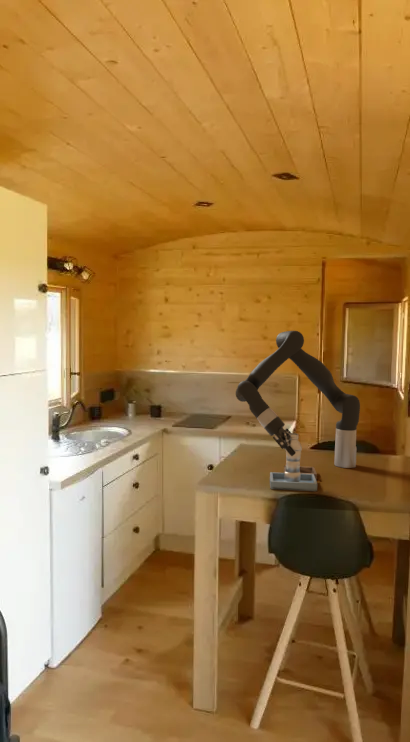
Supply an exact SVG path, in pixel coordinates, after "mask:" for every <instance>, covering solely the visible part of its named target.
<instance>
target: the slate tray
mask: <svg viewBox="0 0 410 742" xmlns="http://www.w3.org/2000/svg"><path fill="white" fill-rule="evenodd" d="M284 474H285V473H284V472H274V471H273V472H272V471H270V472H269V487H270V490H281V491H283V490H285V491H303V492H304V491H305V492H318V482H317V480H316V479H315V476H314V474H301V478H300V481H299V482H286V481H285V479H284Z"/></svg>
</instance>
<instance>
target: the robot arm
mask: <svg viewBox="0 0 410 742" xmlns="http://www.w3.org/2000/svg"><path fill="white" fill-rule="evenodd" d="M304 338H305V337H304V335H303V334H302V332H300V331H298V330H287V331H281V332H280V333H278V335H277V336H276V339H275V343H276V346H277V347H276V348H277V349H276V350H275V351H274V352H273V353H271V354H270V355H268V356H267V357H266V358H264V359H263V360H261V361H260V362H259V363H258V364H257V365H256V366H255V367H254V369H252V370H251V371H250V373H249V375H248V376H247V378H246V379H245V380H242V381H240V382H239V383H238V385H237V387H236V390H235V397H236V399H237V400H238V401H240V402H241V403H242V402H246V403H247V404H248V407H249V411H250V412H251V414H253V416H254V417H255V418H256V420H258V422H259V424H260V425H261V427H262V428H264V430H265V431H266V432H267V433H268V435H270V437H272V439H273V440H274V441H275V442H276V444H278V446H279V448H281V449H282V450H285V451H286V450H287V452H288V453H289V454H290V455H291V456H293V455H294V454H295V453H296V452H295V451H294V450H293V448H292V447H291V446H290V445H289V443H288V441H289V440H290V439H289V434H290V433H292V432H291V431H290V430H289V428H284V426H285V422H284V421H283V420H282V419H281V417H280V416H278V414H277V413H276V412H275V411H274V410H273V409H272V408H271V407H270V406H269V404H268V403H267V402H266V401H265V400H264V399H263V398H262V395H261V393H260V392H259V389H260V388H261V386H262V385H264V383H266V382H267V380H268V379H269V378H270V377H271V376H272V375H273V373H275V371H276V370H278V368H280V367H281V365H283V364H284V363H285V362H286V361H287V360H289V359H290V360H291V361H292V362H293V363H294V364H295V365H296V366H297V368H298V369H299V370H300V371H301V372H302V373H303V374H304V375H305V376H306V378H308V380H309V381H310V382H311V383H312V384H313V385H314V386H315V387H316V388H317V389H318V390H319V391H320V392H321V393H322V394H323V396H325V397H326V398H327V400H328V401H329V403H330V404H331V406H332V408H333V409H334V410H335V411H336V412H338V413H340V414H341V419H340V420H338V421H337V422H336V423H335V442H334V443H335V445H334V466H335V467H338V468H343V469H344V468H345V469H346V468H347V469H350V468H356V467H357V446H356V445H357V428H358V424H359V422H360V414H361V413H360V412H361V402H360V399H359V398H358V397H357V396H356V395H354V394H348V393H346V392H344V391H342V390H341V388H339V387H338V386H337V384H336V383H335V380H334V378H333V374H332V372H331V371H330V370H329V369H328V368H327V366H326V365H325V364H324V363H323V362H322V361H321V360H320V359H318V358H316V357H314V356H313V355H312V354H310V353H308V352H307V351H305V350H304V349H303V346H304V345H305V339H304Z"/></svg>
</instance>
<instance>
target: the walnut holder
mask: <svg viewBox="0 0 410 742" xmlns="http://www.w3.org/2000/svg"><path fill="white" fill-rule="evenodd" d="M283 467H284V468H283V473H285V470H286V465H284V466H283ZM300 474H314V476H315V479H316V481H317V478H318V474H317V471H316V469H315V467H314V466H301V465H300Z"/></svg>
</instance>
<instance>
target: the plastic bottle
mask: <svg viewBox="0 0 410 742" xmlns="http://www.w3.org/2000/svg"><path fill="white" fill-rule="evenodd" d="M289 439H290V440H289V441H288V443H289V445H290V446H291V447H292V448H293V450H294V451H295V452H296V453H295V454H294V455H293V456H291V455H290V454H289V453H288V452H287V450H286V449H285V455H286V458H285V461H286V462H285V466H286V470H285V474H284V479H285V481H286V482H299V481H300V478H301V474H300V466H301V465H300V464H301V456H302V449H303V448H302V447H303V446H302V444H301V442H300V441H299V433H296V432H295V433H294V432H291V433H290V434H289Z"/></svg>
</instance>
